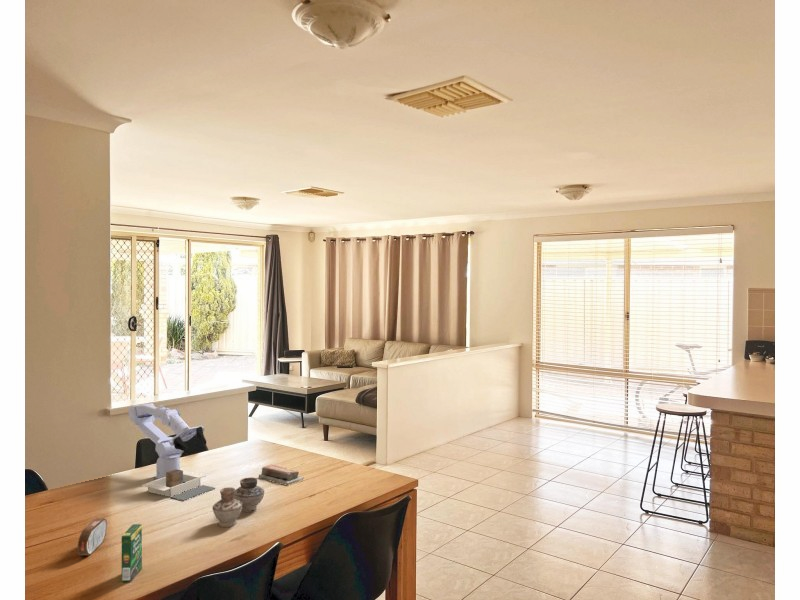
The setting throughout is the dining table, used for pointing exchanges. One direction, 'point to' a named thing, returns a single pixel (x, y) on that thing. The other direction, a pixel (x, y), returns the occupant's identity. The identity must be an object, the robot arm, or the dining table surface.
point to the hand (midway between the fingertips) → (196, 446)
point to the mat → (193, 492)
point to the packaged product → (280, 474)
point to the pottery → (237, 501)
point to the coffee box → (131, 552)
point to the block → (174, 478)
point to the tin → (92, 536)
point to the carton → (189, 479)
